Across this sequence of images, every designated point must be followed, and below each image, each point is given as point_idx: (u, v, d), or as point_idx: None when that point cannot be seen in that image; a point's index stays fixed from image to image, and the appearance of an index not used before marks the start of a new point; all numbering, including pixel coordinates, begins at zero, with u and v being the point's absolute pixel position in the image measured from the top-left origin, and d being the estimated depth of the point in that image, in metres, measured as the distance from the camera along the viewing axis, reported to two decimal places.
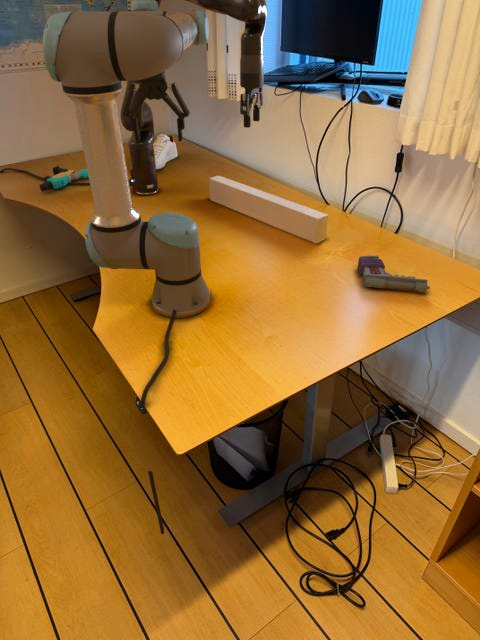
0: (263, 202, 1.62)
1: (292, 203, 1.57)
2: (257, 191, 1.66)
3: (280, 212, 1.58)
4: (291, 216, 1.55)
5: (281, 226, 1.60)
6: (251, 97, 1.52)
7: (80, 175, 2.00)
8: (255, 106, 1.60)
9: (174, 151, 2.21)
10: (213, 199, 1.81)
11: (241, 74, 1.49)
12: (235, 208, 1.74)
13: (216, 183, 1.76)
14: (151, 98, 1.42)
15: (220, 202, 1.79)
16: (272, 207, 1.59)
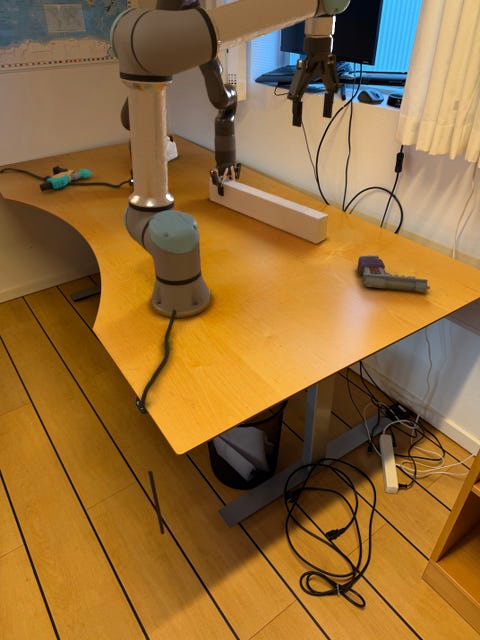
0: (263, 202, 1.62)
1: (292, 203, 1.57)
2: (257, 191, 1.66)
3: (280, 212, 1.58)
4: (291, 216, 1.55)
5: (281, 226, 1.60)
6: (221, 170, 1.70)
7: (80, 175, 2.00)
8: (231, 179, 1.76)
9: (174, 151, 2.21)
10: (213, 199, 1.81)
11: None
12: (235, 208, 1.74)
13: None
14: (317, 74, 1.28)
15: (220, 202, 1.79)
16: (272, 207, 1.59)
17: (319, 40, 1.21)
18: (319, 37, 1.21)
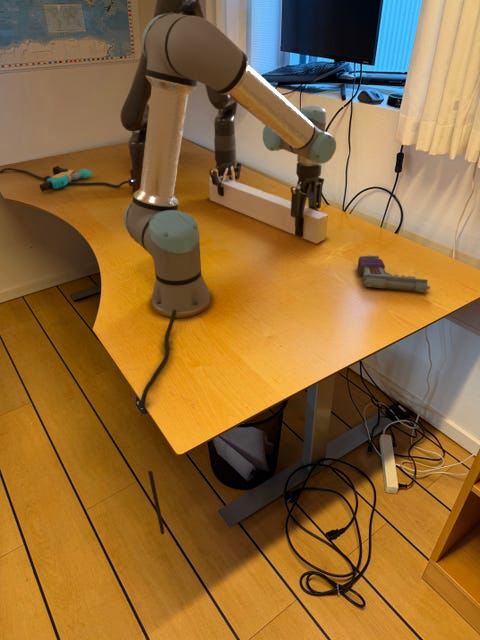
0: (263, 202, 1.62)
1: None
2: (257, 191, 1.66)
3: (280, 211, 1.58)
4: None
5: (281, 226, 1.60)
6: (221, 170, 1.70)
7: (80, 175, 2.00)
8: (231, 179, 1.76)
9: None
10: (213, 199, 1.81)
11: None
12: (235, 208, 1.74)
13: None
14: None
15: (220, 202, 1.79)
16: (272, 207, 1.59)
17: (310, 168, 1.41)
18: (310, 165, 1.41)
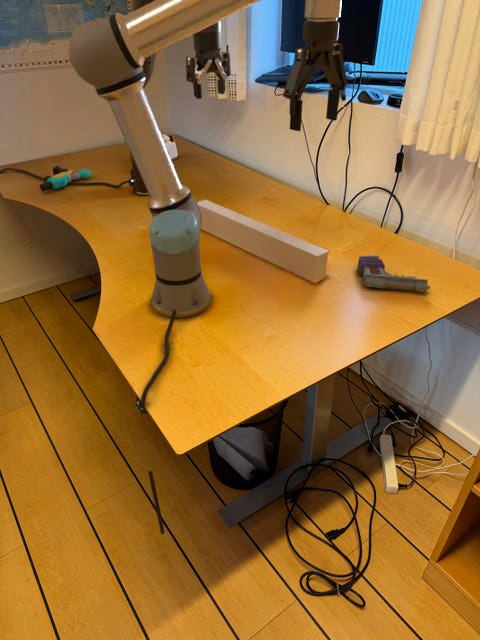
0: (254, 234, 1.42)
1: (287, 235, 1.38)
2: (248, 220, 1.47)
3: (273, 245, 1.38)
4: (286, 251, 1.35)
5: (275, 261, 1.41)
6: (202, 62, 1.28)
7: (80, 175, 2.00)
8: (219, 75, 1.35)
9: (174, 151, 2.21)
10: None
11: None
12: (224, 238, 1.54)
13: (202, 209, 1.56)
14: (319, 67, 1.05)
15: (207, 230, 1.59)
16: (265, 240, 1.40)
17: (322, 25, 0.99)
18: (322, 21, 0.99)
